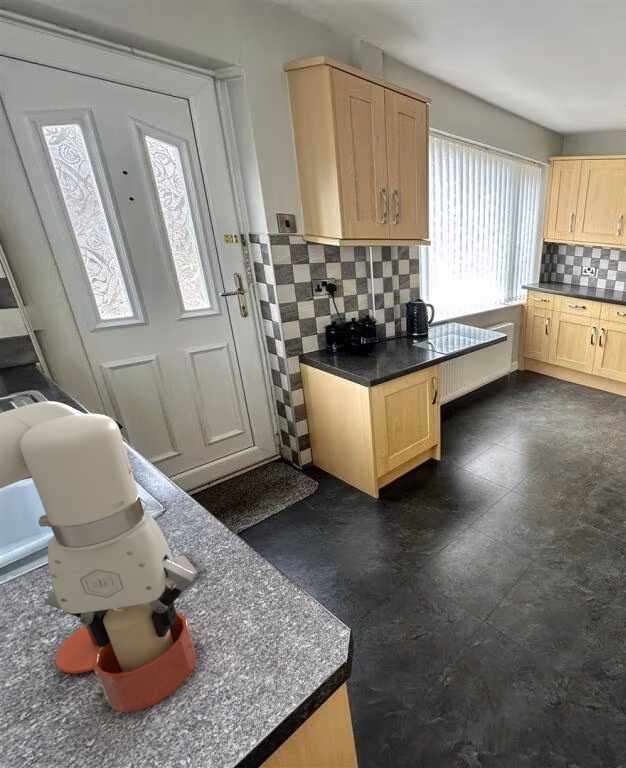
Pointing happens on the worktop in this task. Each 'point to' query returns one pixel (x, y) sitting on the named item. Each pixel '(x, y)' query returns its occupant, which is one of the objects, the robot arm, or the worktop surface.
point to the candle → (135, 636)
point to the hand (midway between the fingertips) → (138, 631)
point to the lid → (77, 651)
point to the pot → (146, 672)
